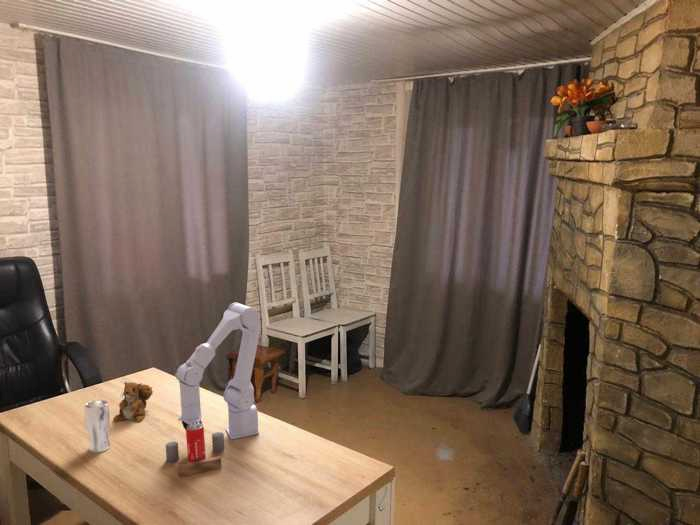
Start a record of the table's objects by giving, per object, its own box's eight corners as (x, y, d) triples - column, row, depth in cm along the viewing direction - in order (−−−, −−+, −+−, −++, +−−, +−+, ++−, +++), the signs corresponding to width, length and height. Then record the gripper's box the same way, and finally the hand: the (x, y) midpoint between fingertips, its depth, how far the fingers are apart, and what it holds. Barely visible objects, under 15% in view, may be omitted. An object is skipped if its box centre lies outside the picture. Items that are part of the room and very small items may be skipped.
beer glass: (116, 445, 175) (113, 401, 172) (98, 455, 169) (94, 410, 166) (101, 440, 178) (97, 397, 175) (83, 450, 172) (78, 406, 169)
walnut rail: (220, 464, 164) (219, 455, 163) (221, 467, 162) (220, 458, 162) (178, 474, 159) (178, 465, 158) (179, 477, 157) (179, 467, 157)
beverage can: (200, 468, 162) (198, 431, 160) (185, 466, 163) (182, 429, 161) (209, 458, 167) (206, 422, 165) (193, 457, 168) (191, 421, 166)
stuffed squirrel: (111, 422, 190) (108, 387, 188) (133, 405, 204) (130, 372, 201) (137, 424, 189) (135, 389, 186) (157, 407, 202) (155, 373, 200)
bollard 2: (222, 445, 175) (222, 431, 174) (225, 450, 172) (224, 436, 171) (211, 448, 173) (210, 433, 173) (213, 453, 170) (213, 438, 169)
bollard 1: (177, 455, 169) (177, 440, 168) (179, 461, 166) (178, 446, 165) (165, 458, 168) (164, 443, 167) (167, 463, 164) (166, 448, 163)
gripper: (173, 395, 173) (176, 434, 175) (180, 414, 160) (183, 456, 163) (196, 391, 176) (198, 429, 178) (205, 409, 163) (207, 450, 166)
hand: (193, 442), depth 171 cm, fingers closed
